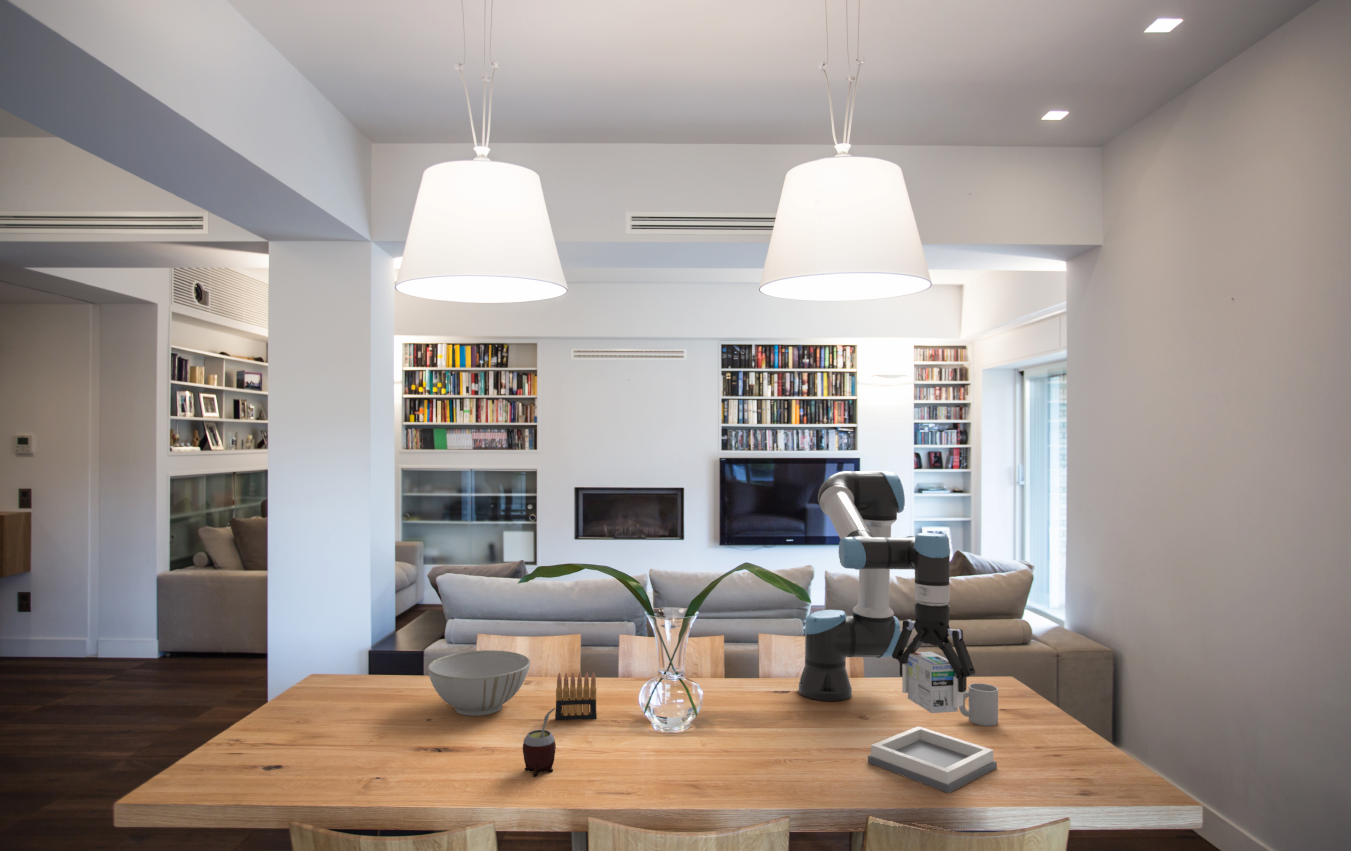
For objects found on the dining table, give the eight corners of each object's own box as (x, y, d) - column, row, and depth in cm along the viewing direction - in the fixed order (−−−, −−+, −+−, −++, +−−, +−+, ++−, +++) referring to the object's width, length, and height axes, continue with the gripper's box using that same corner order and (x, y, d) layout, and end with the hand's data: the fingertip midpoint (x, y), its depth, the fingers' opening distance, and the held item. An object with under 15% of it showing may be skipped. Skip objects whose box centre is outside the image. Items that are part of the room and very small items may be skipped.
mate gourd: (528, 763, 173) (529, 695, 173) (562, 765, 172) (563, 697, 173) (517, 777, 166) (518, 706, 166) (553, 779, 165) (554, 708, 165)
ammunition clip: (555, 720, 200) (555, 674, 201) (555, 718, 202) (555, 671, 202) (596, 719, 202) (597, 672, 202) (596, 716, 204) (596, 670, 204)
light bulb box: (959, 712, 170) (958, 662, 171) (931, 714, 169) (931, 664, 169) (932, 697, 181) (932, 650, 181) (906, 698, 179) (906, 651, 180)
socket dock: (867, 762, 176) (867, 744, 176) (917, 741, 188) (917, 725, 189) (948, 793, 160) (948, 773, 160) (996, 768, 173) (996, 750, 173)
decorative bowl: (517, 727, 196) (518, 678, 196) (411, 725, 196) (412, 676, 196) (538, 693, 222) (538, 650, 223) (445, 691, 223) (446, 649, 223)
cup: (1002, 727, 199) (1002, 691, 200) (963, 726, 200) (963, 691, 200) (992, 717, 207) (992, 683, 207) (954, 716, 207) (954, 682, 207)
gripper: (876, 596, 182) (876, 688, 182) (974, 613, 164) (974, 716, 163) (895, 592, 187) (895, 682, 186) (991, 609, 169) (992, 709, 168)
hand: (932, 698), depth 175 cm, fingers closed on light bulb box, 12 cm apart
